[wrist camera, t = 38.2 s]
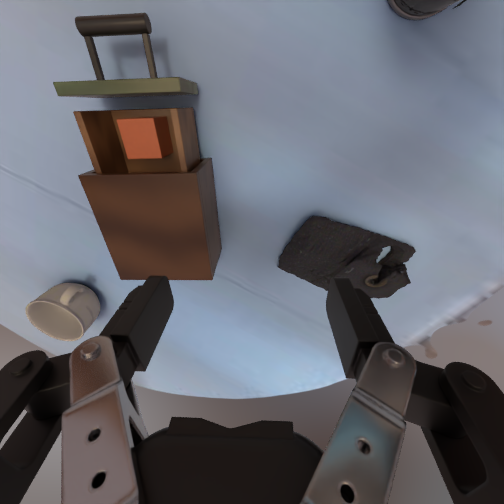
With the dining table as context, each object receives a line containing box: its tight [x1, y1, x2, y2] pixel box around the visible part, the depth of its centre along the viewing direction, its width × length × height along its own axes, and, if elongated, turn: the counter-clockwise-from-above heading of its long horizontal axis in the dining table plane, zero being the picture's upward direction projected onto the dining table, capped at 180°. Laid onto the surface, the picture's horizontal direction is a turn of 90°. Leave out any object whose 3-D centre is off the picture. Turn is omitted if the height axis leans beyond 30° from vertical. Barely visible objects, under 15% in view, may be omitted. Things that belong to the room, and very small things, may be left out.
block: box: [117, 116, 173, 159], centre depth 30 cm, size 4×4×4 cm
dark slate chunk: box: [278, 216, 415, 298], centre depth 41 cm, size 15×22×5 cm
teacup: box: [26, 283, 100, 341], centre depth 47 cm, size 14×11×8 cm
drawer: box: [53, 13, 201, 173], centre depth 29 cm, size 20×13×7 cm, turn 2°
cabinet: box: [78, 158, 222, 280], centre depth 36 cm, size 16×14×9 cm
